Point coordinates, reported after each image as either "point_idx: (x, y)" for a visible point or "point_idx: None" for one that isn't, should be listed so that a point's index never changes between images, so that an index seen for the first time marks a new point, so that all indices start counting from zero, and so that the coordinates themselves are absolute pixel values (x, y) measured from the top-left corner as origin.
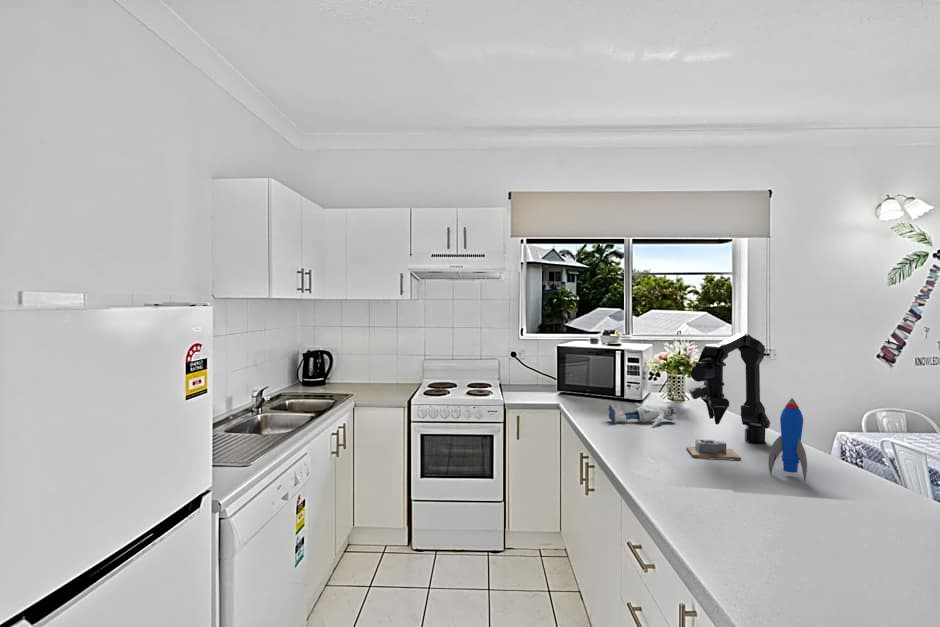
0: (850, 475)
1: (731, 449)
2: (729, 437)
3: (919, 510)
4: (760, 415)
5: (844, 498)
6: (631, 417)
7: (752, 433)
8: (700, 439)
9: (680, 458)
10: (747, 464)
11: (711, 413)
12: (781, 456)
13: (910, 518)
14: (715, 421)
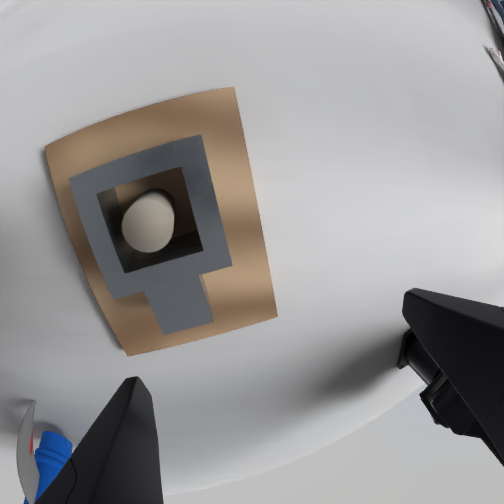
0: (162, 484)
1: (263, 315)
2: (456, 271)
3: None
4: (443, 421)
5: (15, 450)
6: (501, 13)
7: (426, 355)
8: (204, 171)
9: (20, 100)
10: (87, 364)
11: (439, 332)
12: (41, 457)
13: (13, 469)
14: (111, 400)
